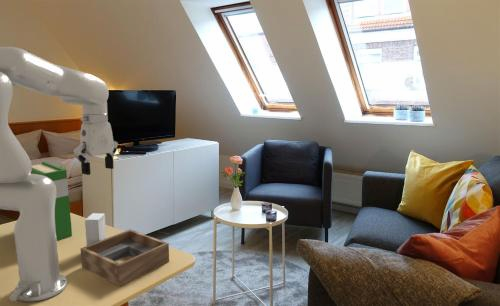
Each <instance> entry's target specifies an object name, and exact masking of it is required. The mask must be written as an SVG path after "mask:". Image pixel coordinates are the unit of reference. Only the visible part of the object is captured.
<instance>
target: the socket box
mask: <svg viewBox="0 0 500 306" xmlns="http://www.w3.org/2000/svg"><path fill="white" fill-rule="evenodd" d="M127 256H130V257H132V258H129V259H126V260H125V261H122V262H117V261H118V260H121V259H123V258H125V257H127ZM80 257H81V259H80V260H81V267H82V268H83V269H85V270H86V271H89V272H91V273H93V274H94V275H97V276H99V277H100V278H102V279H105V280H106V281H109V282H111V283H112V284H115V285H116V286H118V287H121V286H125V284H127V283H129V282H131V281H134V280H135V279H137V278H140V277H142V276H144V275H145V274H147V273H150V272H151V271H153V270H155V269H158V268H160V267H161V266H163V265H165V264H167V263H169V262H170V246H169V242H166V241H163V240H161V239H158V238H155V237H153V236H150V235H147V234H145V233H142V232H139V231H136V230H133V229H131V228H130V229H128V230H125V231H122V232H120V233H117V234H115V235H114V234H113V235H112V236H109V237H106V239H104V240H101V241H99V242H96V243H93V244H91V245H88V246H87V245H85V246H83V247H81V248H80Z"/></svg>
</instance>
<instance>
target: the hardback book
mask: <svg viewBox="0 0 500 306" xmlns="http://www.w3.org/2000/svg"><path fill="white" fill-rule="evenodd" d="M30 174H38V175H43V176H46V177H48V178H50V179H51V180H52V181H53V182H54V184H55V186H56V201H55V229H56V238H57V242H58V241H61V240H63V239H68V238H71V237H73V229H72V220H71V219H72V218H71V208H70V195H69V185H68V184H69V183H68V174H67V169H66V168H62V167H59V166H57V165H55V164H52V163H49V162H46V161H41V163H40V164H34V165H32V171H31V173H30Z"/></svg>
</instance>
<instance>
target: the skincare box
mask: <svg viewBox="0 0 500 306" xmlns="http://www.w3.org/2000/svg"><path fill="white" fill-rule="evenodd" d="M105 215H106V214H105V213H97V212H93V213H91V214H90V215H88V216H87V217H86V218H85V220H84V224H85V225H84V227H85V237H86V238H85V239H86V241H85V242H86V246H88V245H91V244H93V243H96V242H99V241H101V240H104V239H106V238H107V230H106V229H107V227H106V226H107V225H106V216H105Z"/></svg>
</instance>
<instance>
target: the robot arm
mask: <svg viewBox="0 0 500 306" xmlns="http://www.w3.org/2000/svg"><path fill="white" fill-rule="evenodd" d="M13 85H15V86H18V87H21V88H24V89H26V90H30V91H32V92H35V93H38V94H41V95H45V96H52V97H58V98H59V100H60V101H61V102H63V104H67V105H69V106H71V105H72V106H81V113H82V115H81V116H80V121H82V124H81V127H80V138H79V139H80V140H79V141H80V144H79V145H78V146H76V147H75V148H74V149H73V153H74V156H75V157H76V159H77V160H78V162H80V164H81V165H80V167H81V174H82V175H87V176H89V175H91V174H92V173H91V163H90V161H89V160H90V159H91V158H92V157H95V156H101V155H105V156H104V167H105V169H110V170H113V169H114V157H115V156H116V155H115V154H116V152H117V148H118V145H119V142H118V141H116V140H114V136H113V130H112V125H111V123H110V122H109V121H108V120H109V118H108V102H107V101H108V99H109V94H110V93H109V88H108V86H107V84H106V82H105V81H104V80H102V79H101V78H99V77H96V76H95V75H93V74H90V73H88V72H85V71H82V70H81V71H80V70H76V69H74V68H70V67H66V66H63V65H58V64H54V63H52V62H50V61H48V60H46V59H44V58H42V57H39V56H38V55H35V53H34V54H33V53H32V52H29V51H27V50H25V49H23V48H20V47H15V46H0V210H6V211H15V212H19V217H18V218H17V220H16V222H15V224H14V228H13V235H14V243H15V244H14V245H15V252H16V261H17V268H18V277H19V281H17V284H16V286H15V287H14V290H13V292H12V293H10V294H9V300H10V301H12V302H16V301H17V300H20V301H23V302H37V301H41V300H47V299H49V298H50V299H51V298H52V297H55V296H56V295H59V294H60V293H61V292H63V291H64V290H65V289H66V288H67V285H68V279H67V277H66V276H64V275H63V274H61V271H60V262H59V261H60V260H59V252H58V251H59V250H58V241H57V238H56V229H55V201H56V186H55V184H54V182H53V181H52V180H51V179H50V178H48V177H46V176H43V175H38V174H30V173H31V171H32V166H33V165H32V161H31V159H30V157H29V155H28V154H27V151H26V150H25V149H24V148H23V146H22V145H21V143H20V141H19V140H18V138H17V137H16V136H15V134H14V133H13V131H12V129H11V127H10V125H9V122H8V120H9V117H8V116H9V111H10V107H11V104H12V99H13V93H14V89H13V88H14V87H13Z"/></svg>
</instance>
